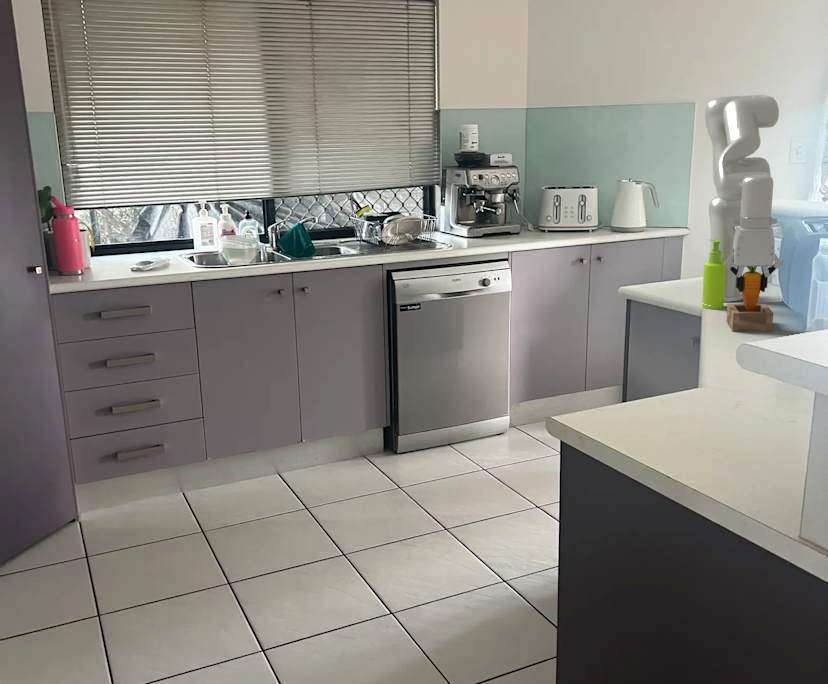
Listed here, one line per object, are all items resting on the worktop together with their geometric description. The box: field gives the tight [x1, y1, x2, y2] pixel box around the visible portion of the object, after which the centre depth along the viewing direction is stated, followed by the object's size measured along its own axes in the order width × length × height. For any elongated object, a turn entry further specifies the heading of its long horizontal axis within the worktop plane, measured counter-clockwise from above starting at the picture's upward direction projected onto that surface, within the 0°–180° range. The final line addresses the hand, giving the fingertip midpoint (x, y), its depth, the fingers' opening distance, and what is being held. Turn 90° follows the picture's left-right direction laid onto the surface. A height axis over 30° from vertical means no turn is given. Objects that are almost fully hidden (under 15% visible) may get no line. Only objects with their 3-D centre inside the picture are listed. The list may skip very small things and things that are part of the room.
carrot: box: [742, 263, 762, 312], centre depth 224 cm, size 5×5×15 cm
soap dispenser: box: [701, 238, 725, 310], centre depth 246 cm, size 6×7×20 cm
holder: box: [726, 303, 774, 332], centre depth 227 cm, size 10×10×5 cm
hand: (751, 290), depth 224 cm, fingers closed on carrot, 5 cm apart
